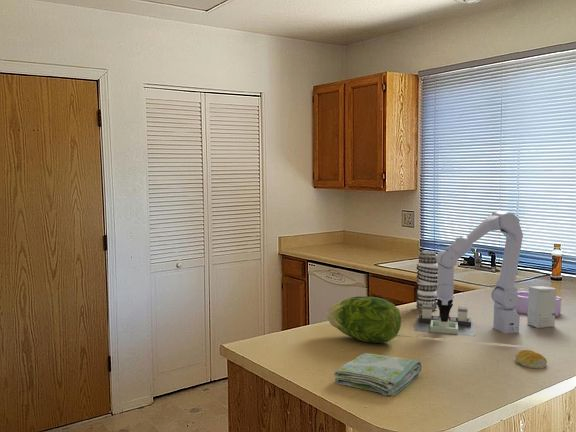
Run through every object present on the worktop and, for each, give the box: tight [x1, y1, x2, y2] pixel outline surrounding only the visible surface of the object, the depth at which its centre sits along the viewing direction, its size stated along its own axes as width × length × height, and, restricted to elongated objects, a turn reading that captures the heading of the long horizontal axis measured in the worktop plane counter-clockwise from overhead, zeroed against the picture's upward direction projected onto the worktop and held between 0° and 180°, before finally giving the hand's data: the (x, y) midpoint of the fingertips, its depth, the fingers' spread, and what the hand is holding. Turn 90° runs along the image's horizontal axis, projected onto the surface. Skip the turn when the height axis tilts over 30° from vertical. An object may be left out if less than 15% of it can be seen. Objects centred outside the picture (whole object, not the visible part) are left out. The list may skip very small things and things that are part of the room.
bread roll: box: [514, 349, 548, 369], centre depth 169 cm, size 8×9×4 cm
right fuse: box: [457, 306, 468, 321], centre depth 209 cm, size 3×3×6 cm
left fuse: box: [421, 304, 433, 319], centre depth 212 cm, size 3×3×6 cm
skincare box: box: [526, 285, 557, 329], centre depth 210 cm, size 8×6×15 cm
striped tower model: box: [415, 250, 438, 312], centre depth 232 cm, size 9×9×25 cm
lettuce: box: [326, 295, 402, 344], centre depth 191 cm, size 15×27×16 cm, turn 60°
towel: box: [333, 352, 423, 397], centre depth 155 cm, size 18×21×5 cm
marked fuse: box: [438, 311, 450, 328], centre depth 202 cm, size 4×4×6 cm
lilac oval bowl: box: [515, 290, 562, 317], centre depth 233 cm, size 20×12×7 cm, turn 54°
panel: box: [413, 314, 476, 337], centre depth 206 cm, size 19×21×3 cm
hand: (444, 320), depth 202 cm, fingers closed on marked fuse, 3 cm apart
